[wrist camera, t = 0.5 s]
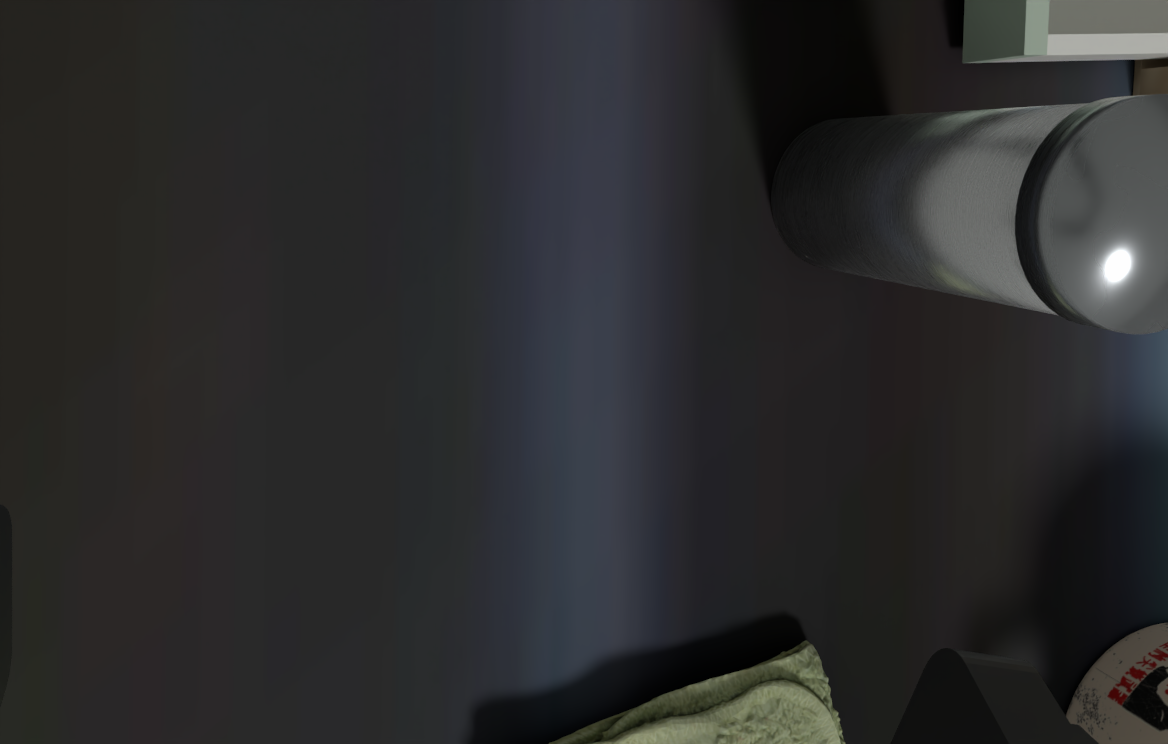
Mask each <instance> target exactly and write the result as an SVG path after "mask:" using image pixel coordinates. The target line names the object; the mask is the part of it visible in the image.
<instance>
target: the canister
mask: <svg viewBox="0 0 1168 744" xmlns="http://www.w3.org/2000/svg"><path fill="white" fill-rule="evenodd" d="M771 208H772V214H773V219H774V222H775V225H776V228H777V230H778V232H779V234H780V236H781V238H782V239H783V241H784V243H785V244H786V245H787V246H788V248H789V249H790V250H791V251H792V252H793V253H794V254H795V255H796V256H798V257H799V258H801V259H802V260H804V261H805V262H807V263H809V264H812V265H814V266H817V267H821V268H826V269H831V270H836V271H841V272H846V273H851V274H856V275H861V276H866V277H871V278H876V279H881V280H886V281H891V282H896V283H901V284H906V285H911V286H916V287H921V288H926V289H931V290H936V291H941V292H945V293H950V294H955V295H960V296H965V297H970V298H975V299H980V300H985V301H990V302H995V303H1000V304H1005V305H1010V306H1015V307H1020V308H1025V309H1030V310H1035V311H1040V312H1045V313H1050V314H1055V315H1059V316H1061V317H1063V318H1065V319H1067V320H1069V321H1072V322H1075V323H1079V324H1082V325H1087V326H1092V327H1097V328H1102V329H1106V330H1111V331H1116V332H1121V333H1128V334H1148V333H1153V332H1159V331H1162V330H1165V329H1168V94H1153V95H1138V96H1123V97H1113V98H1105V99H1102V100H1098V101H1094V102H1092V103H1087V104H1070V105H1054V106H1038V107H1021V108H1005V109H988V110H972V111H955V112H939V113H923V114H906V115H890V116H873V117H857V118H840V119H831V120H827V121H823V122H820V123H818V124H816V125H813V126H812V127H810V128H808V129H806V130H805V131H804V132H802V133H801V134H800V135H799V136H797V138H796V139H795V140H794V141H793V142H792V143H791V144H790V145H789V146H788V148H787V149H786V150H785V152H784V154H783V155H782V157H781V159H780V161H779V163H778V166H777V168H776V171H775V174H774V178H773V183H772V188H771Z"/></svg>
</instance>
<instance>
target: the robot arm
mask: <svg viewBox="0 0 1168 744" xmlns="http://www.w3.org/2000/svg"><path fill="white" fill-rule="evenodd" d="M11 656H12V524H11V518H10V515H9V512H8V510H7V508H6V507H5V506H3V505H0V706H1V703H2V700H3V697H4V693H5V690H6V686H7V682H8V677H9V672H10V666H11ZM891 744H1099V743H1098V742H1097V741H1096V740H1095V739H1093V738H1092V737H1091V736H1090V735H1089V734H1088V733H1087V732H1086V731H1085V730H1084V729H1083V728H1082V727H1081V726H1080V725H1076V724H1070V722H1069V721H1068V719H1067V717H1066V716H1065V714H1064V713H1063V711H1062V709H1061V708H1060V706H1059V705H1058V703H1057V701H1056V700H1055V698H1054V697H1053V695H1052V693H1051V692H1050V690H1049V689H1048V687H1047V685H1046V684H1045V682H1044V681H1043V679H1042V677H1041V676H1040V674H1039V673H1038V671H1037V670H1036V669H1035V667H1034V666H1032V665H1031V664H1030V663H1029V662H1027V661H1025V660H1022V659H1016V658H1010V657H1003V656H996V655H989V654H983V653H976V652H969V651H963V650H956V649H949V648H944V649H941V650H939V651H937V652H936V653H935V654H934V655H932V657H931V658H930V659H929V661H928V663H927V664H926V666H925V668H924V670H923V673H922V675H921V677H920V679H919V682H918V684H917V686H916V688H915V690H914V693H913V695H912V697H911V699H910V702H909V704H908V706H907V708H906V710H905V713H904V715H903V717H902V719H901V722H900V724H899V726H898V728H897V731H896V733H895V735H894V737H893V739H892V742H891Z"/></svg>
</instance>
